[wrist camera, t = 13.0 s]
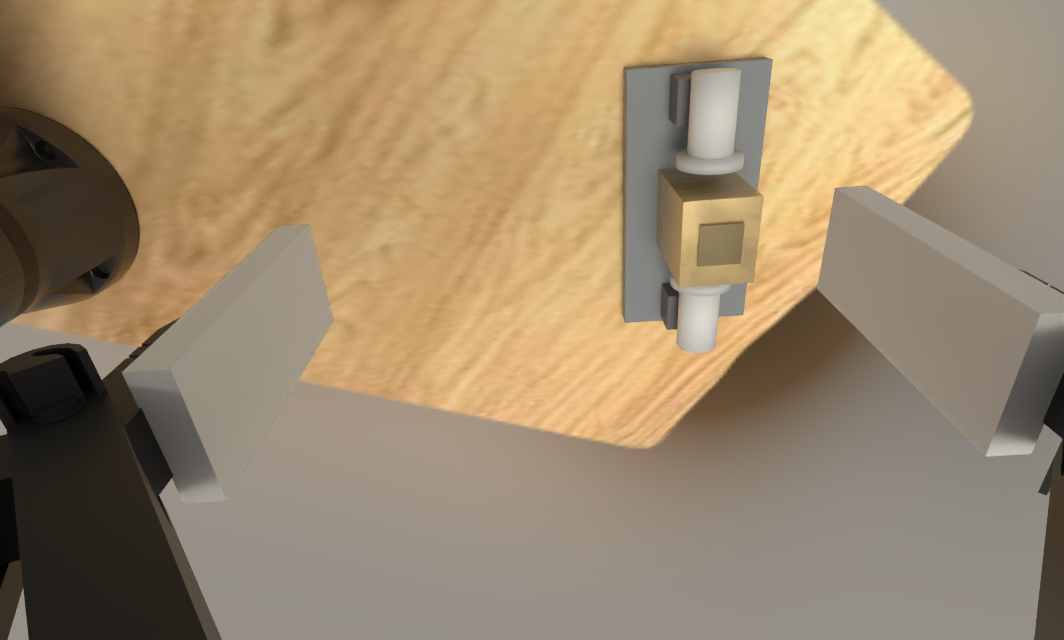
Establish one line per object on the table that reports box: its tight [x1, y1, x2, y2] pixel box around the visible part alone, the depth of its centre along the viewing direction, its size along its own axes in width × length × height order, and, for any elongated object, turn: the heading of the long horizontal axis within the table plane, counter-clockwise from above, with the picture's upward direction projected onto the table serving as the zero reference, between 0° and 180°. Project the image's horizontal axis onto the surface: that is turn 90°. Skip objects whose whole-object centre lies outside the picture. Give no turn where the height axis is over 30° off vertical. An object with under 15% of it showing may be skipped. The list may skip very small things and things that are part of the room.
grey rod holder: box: [623, 57, 773, 353], centre depth 44 cm, size 10×20×8 cm, turn 4°
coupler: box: [656, 168, 763, 288], centre depth 42 cm, size 5×6×8 cm
